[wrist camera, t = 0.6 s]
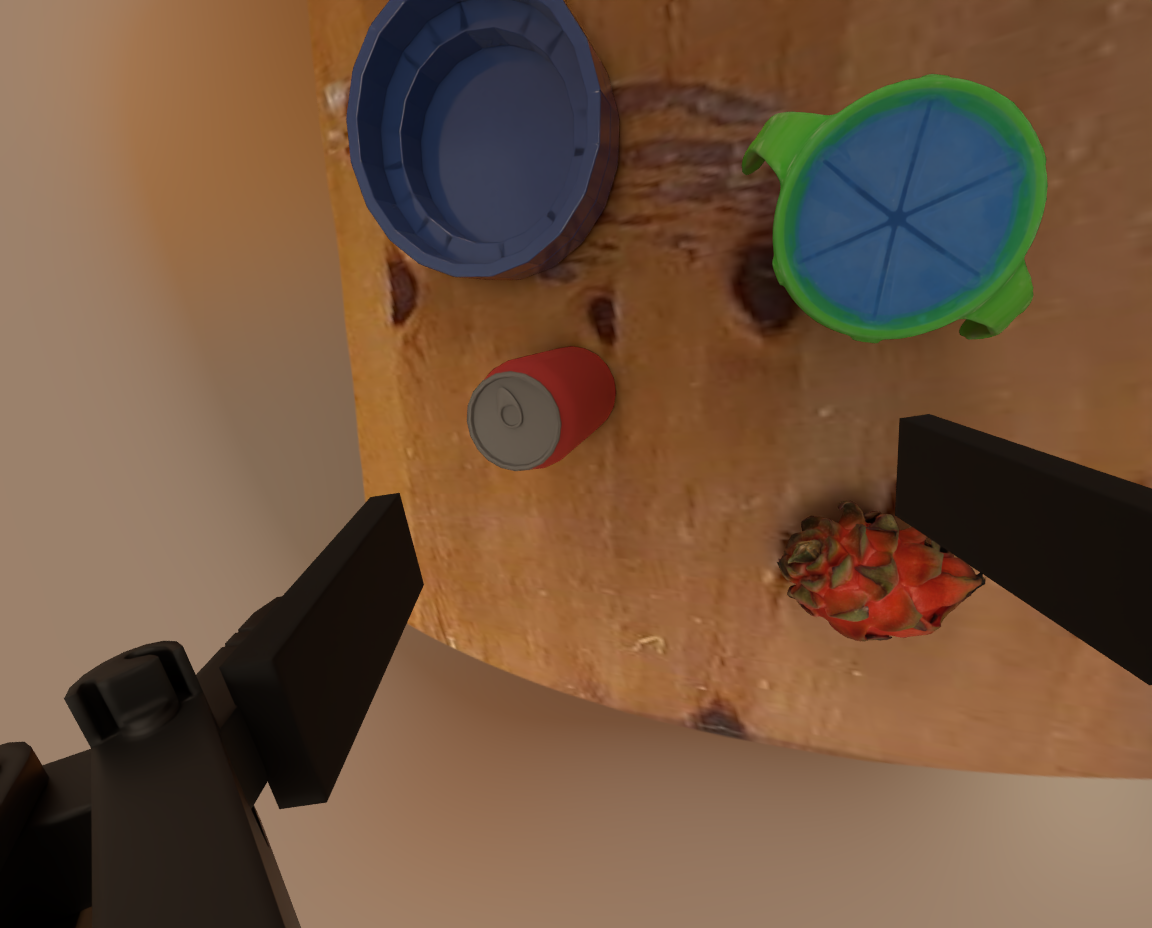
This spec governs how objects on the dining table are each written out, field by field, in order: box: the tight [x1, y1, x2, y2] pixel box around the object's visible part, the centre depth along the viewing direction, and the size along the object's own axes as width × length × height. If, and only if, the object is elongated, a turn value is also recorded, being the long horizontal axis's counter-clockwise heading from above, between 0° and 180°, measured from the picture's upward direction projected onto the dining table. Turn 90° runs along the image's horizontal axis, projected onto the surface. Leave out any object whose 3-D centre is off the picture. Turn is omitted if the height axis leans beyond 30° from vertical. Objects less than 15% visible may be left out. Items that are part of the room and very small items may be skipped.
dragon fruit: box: [777, 501, 985, 641], centre depth 34 cm, size 8×8×12 cm
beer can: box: [467, 346, 616, 471], centre depth 35 cm, size 7×7×12 cm
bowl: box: [346, 0, 619, 280], centre depth 35 cm, size 17×17×6 cm
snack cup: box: [742, 74, 1048, 343], centre depth 28 cm, size 16×11×10 cm
